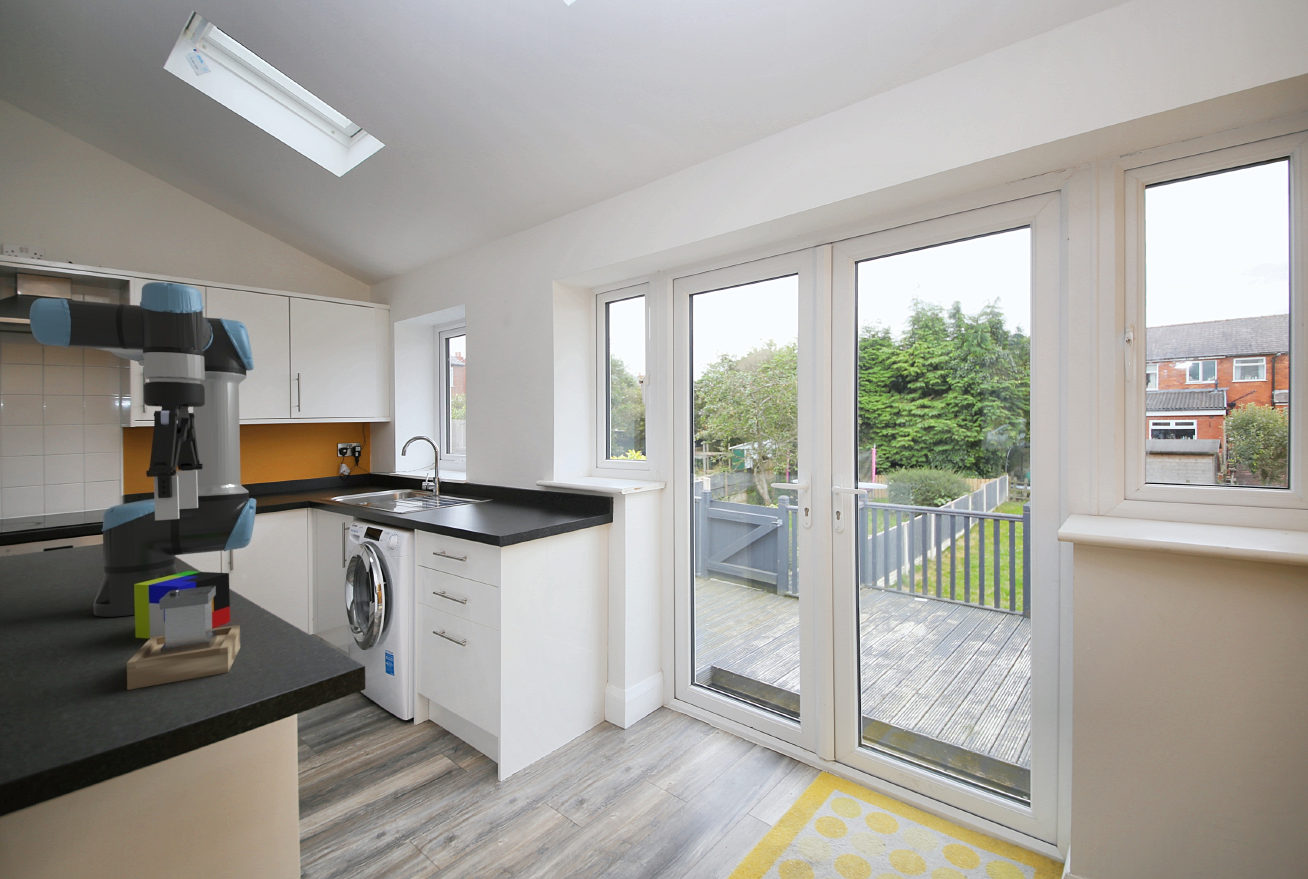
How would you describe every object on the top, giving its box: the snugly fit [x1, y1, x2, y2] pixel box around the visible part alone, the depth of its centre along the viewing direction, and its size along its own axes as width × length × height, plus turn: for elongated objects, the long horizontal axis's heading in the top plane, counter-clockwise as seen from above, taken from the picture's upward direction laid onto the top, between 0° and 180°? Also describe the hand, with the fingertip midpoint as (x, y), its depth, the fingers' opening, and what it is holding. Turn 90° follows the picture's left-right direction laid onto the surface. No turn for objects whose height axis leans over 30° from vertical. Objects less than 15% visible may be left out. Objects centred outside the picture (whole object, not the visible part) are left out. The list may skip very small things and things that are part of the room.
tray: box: [126, 624, 241, 691], centre depth 92 cm, size 12×12×4 cm
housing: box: [159, 586, 217, 656], centre depth 92 cm, size 6×6×10 cm
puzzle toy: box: [134, 570, 231, 639], centre depth 110 cm, size 10×10×10 cm
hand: (178, 513), depth 92 cm, fingers open, 13 cm apart
